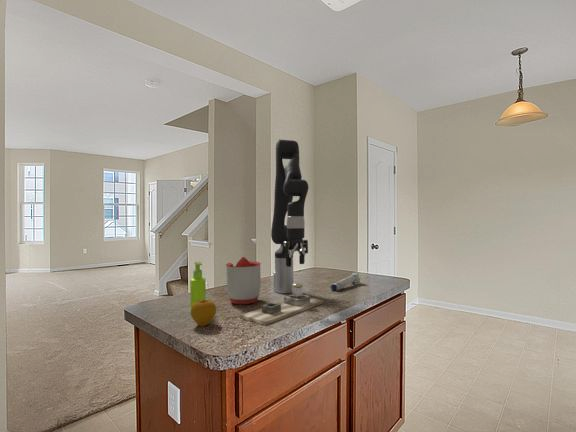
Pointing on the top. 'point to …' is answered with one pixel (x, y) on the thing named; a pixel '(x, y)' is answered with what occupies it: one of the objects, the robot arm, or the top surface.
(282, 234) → the robot arm
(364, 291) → the top surface
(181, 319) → the top surface
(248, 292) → the citrus juicer
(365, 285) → the top surface
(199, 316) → the apple
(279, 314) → the socket board
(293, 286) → the pipe fitting
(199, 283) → the soap dispenser
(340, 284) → the grey piece
